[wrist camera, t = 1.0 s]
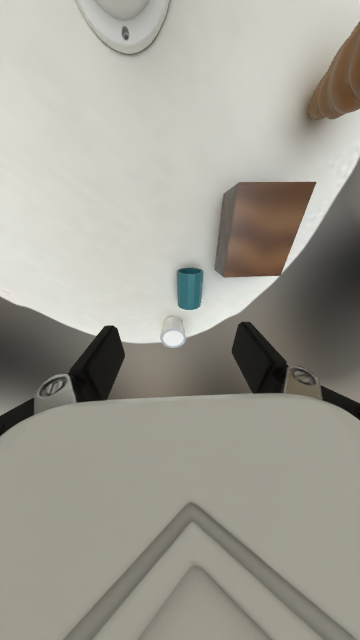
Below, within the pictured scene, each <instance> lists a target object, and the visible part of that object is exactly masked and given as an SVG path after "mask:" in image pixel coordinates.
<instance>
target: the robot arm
mask: <svg viewBox="0 0 360 640" xmlns="http://www.w3.org/2000/svg"><path fill="white" fill-rule="evenodd" d="M169 1H170V0H76V2H77V4H78V6H79V8H80V10H81V12H82V14H83V16H84V17H85V19H86V20H87V22H88V23H89V25H90V26H91V28H92V29H93V31H94V32H95V33H96V34H97V35H98V36H99V37H100V39H101V40H102V41H103V42H105V43H106V44H107V45H108V46H110V47H111V48H112V49H114V50H117V51H119V52H121V53H127V54H133V53H137V52H140V51H142V50H143V49H145V48H146V47H148V46H149V45H150V43H151V42H152V41H153V40H154V39H155V37H156V36H157V34H158V32H159V30H160V28H161V26H162V24H163V21H164V18H165V15H166V13H167V10H168V5H169ZM126 39H128V40H126ZM232 354H233V356H234V358H235V360H236V362H237V364H238V366H239V368H240V370H241V372H242V374H243V376H244V378H245V379H246V381H247V383H248V385H249V387H250V389H251V391H252V393H253V394H230V395H206V396H185V397H184V396H182V397H161V398H141V399H120V400H107V398H108V396H109V393H110V391H111V388H112V386H113V384H114V381H115V379H116V377H117V374H118V372H119V369H120V367H121V364H122V362H123V360H124V357H125V353H124V349H123V346H122V343H121V339H120V336H119V333H118V329H117V328H116V327H114V326H104V328H103V329H102V330H101V331H100V333H99V334H98V335H97V336H96V338H95V339H94V340H93V341H92V343H91V344H90V345H89V346H88V348H87V349H86V350H85V352H84V353H83V354H82V356H80V358H79V359H78V360H77V362H76V363H75V364H74V365H73V367H72V368H71V369H70V372H69V373H68V375H67V374H61V375H56V376H54V377H52V378H50V379H48V380H46V381H45V382H44V383H43V384H41V385H40V386H39V387H38V389H37V390H36V392H35V395H34V396H35V397H34V398H32V399H30V400H28V401H27V402H25V403H23V404H21V405H19V406H17V407H16V408H14V409H12V410H10V411H8V412H7V413H5V414H3V415H1V416H0V640H360V403H358V402H355V401H353V400H351V399H349V398H347V397H344V396H343V395H340V394H338V393H336V392H334V391H332V390H330V389H328V388H325V387H323V386H321V385H320V381H319V379H318V378H317V376H316V375H314V374H313V373H312V372H311V371H309V370H307V369H305V368H303V367H300V366H296V365H291V366H288V365H287V364H286V363H287V362H286V361H285V359H284V358H283V357H282V356H281V355H280V354H279V353H278V352H277V351H276V350H275V349H274V347H272V345H271V344H270V343H269V342H268V341H267V340H266V339H265V338H264V337H263V336H262V334H261V333H260V332H259V331H258V330H257V329H256V328H255V327H254V326H253V325H252V324H251V323H250V322H241V323H240V324H239V325H238V328H237V332H236V336H235V339H234V344H233V347H232ZM104 400H105V401H104Z"/></svg>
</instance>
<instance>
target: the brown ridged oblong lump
mask: <svg viewBox="0 0 360 640" xmlns="http://www.w3.org/2000/svg"><path fill="white" fill-rule="evenodd" d="M358 109H360V22H359V23H358V24H357V26H356V27H355V29H354V30H353V32H352V33H351V35H350V37H349V38H348V39H347V40H346V41H345V42H344V44H343V45H342V46H341V48H340V49H339V51H338V52H337V54H336V56H335V57H334V59H333V61H332V63H331V65H330V67H329V69H328V72H327V73H326V74H325V75H324V77H323V78H322V80H321V81H320V83H319V85H318V86H317V88H316V90H315V92H314V94H313V97H312V99H311V102H310V106H309V115H310V116H311V117H312V118H314V119H322V118H325V117H327V118H328V119H336V118H338V117H340V116H342V115H344V114H346V113H349V112H353V111H356V110H358Z"/></svg>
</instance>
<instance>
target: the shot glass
mask: <svg viewBox="0 0 360 640" xmlns="http://www.w3.org/2000/svg"><path fill="white" fill-rule="evenodd" d="M185 340H186V335H185V332H184V328H183V324H182V321H181V320H180V319H179V318H178V317H174V316H172V317H169V318H167V319H166V320H165V322H164V326H163V329H162V333H161V342H162V343H163V344H164V345H165V346H168V347H170V348H176V347H179V346H181V345H183V344H184V342H185Z"/></svg>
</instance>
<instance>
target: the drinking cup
mask: <svg viewBox="0 0 360 640" xmlns="http://www.w3.org/2000/svg"><path fill="white" fill-rule="evenodd" d="M202 281H203V271H202V270H201V269H196V268H184V269H180V270H177V284H178V306H179V307H180V308H182V309H186V310H193V309H197V308H199V307H200V303H201V294H202Z"/></svg>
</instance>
